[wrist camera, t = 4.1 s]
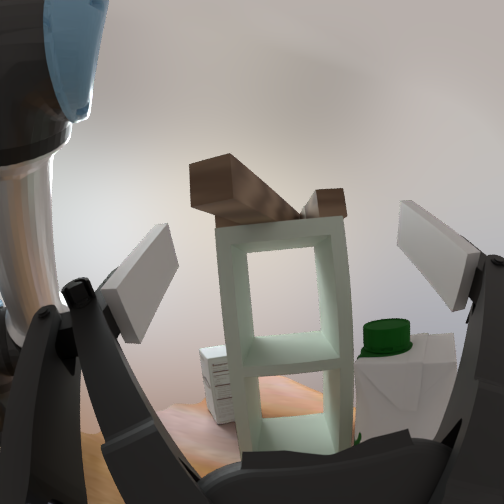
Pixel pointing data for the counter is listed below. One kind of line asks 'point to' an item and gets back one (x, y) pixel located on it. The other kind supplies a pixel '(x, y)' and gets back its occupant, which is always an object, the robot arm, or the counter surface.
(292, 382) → the counter surface
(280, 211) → the plain slat
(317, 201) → the banded slat
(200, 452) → the counter surface
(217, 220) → the banded slat
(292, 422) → the shelf unit
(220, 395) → the supplement box
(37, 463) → the robot arm
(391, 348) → the milk carton
